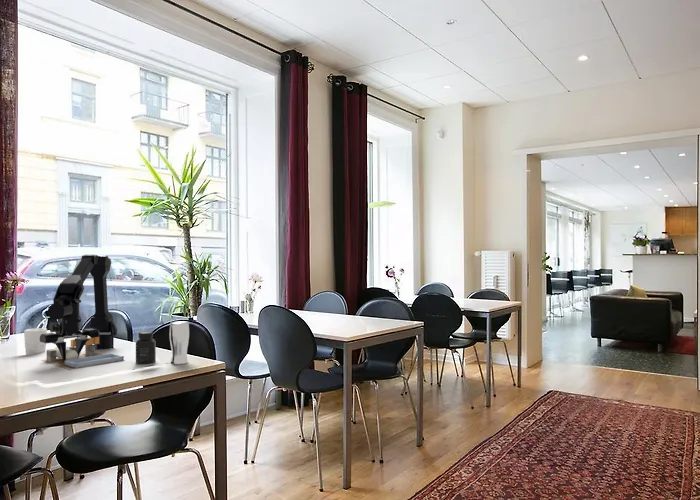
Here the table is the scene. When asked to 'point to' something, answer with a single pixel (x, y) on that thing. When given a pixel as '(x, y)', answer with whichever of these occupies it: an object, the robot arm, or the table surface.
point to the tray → (93, 360)
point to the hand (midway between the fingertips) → (70, 359)
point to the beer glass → (179, 341)
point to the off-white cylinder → (67, 354)
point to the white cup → (34, 341)
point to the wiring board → (61, 362)
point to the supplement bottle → (145, 348)
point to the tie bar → (91, 341)
